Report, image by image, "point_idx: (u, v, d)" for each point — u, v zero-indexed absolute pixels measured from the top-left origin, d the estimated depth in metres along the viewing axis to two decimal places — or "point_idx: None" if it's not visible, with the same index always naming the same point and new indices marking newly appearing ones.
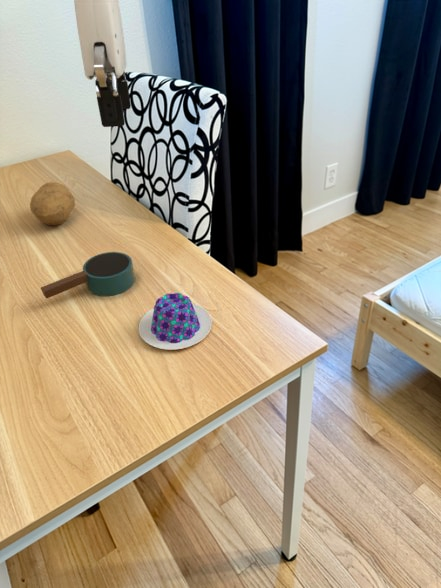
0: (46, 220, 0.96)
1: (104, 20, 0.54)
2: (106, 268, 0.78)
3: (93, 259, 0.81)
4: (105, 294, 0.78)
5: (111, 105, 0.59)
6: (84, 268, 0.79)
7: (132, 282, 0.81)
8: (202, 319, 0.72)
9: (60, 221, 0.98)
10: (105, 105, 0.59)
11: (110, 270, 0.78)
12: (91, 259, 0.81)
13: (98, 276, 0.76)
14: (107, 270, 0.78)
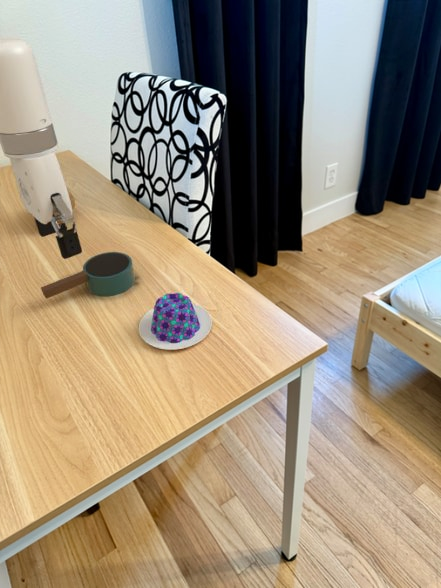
0: None
1: (56, 175, 0.61)
2: (106, 268, 0.78)
3: (93, 259, 0.81)
4: (105, 294, 0.78)
5: (72, 240, 0.66)
6: (84, 268, 0.79)
7: (132, 282, 0.81)
8: (202, 319, 0.72)
9: (60, 221, 0.98)
10: (67, 241, 0.66)
11: (110, 270, 0.78)
12: (91, 259, 0.81)
13: (98, 276, 0.76)
14: (107, 270, 0.78)
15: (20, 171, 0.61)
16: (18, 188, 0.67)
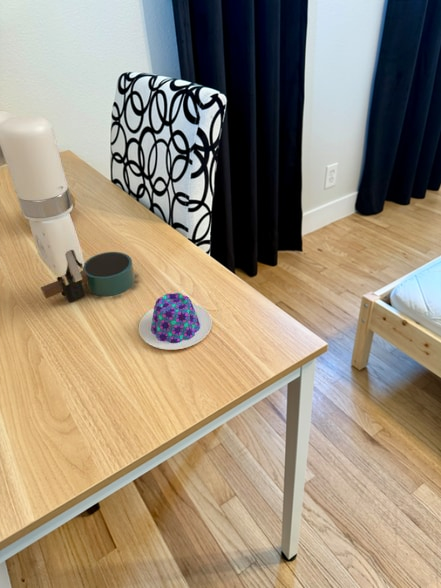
0: None
1: (71, 234, 0.67)
2: (106, 268, 0.78)
3: (93, 259, 0.81)
4: (105, 294, 0.78)
5: (76, 287, 0.75)
6: (84, 268, 0.79)
7: (132, 282, 0.81)
8: (202, 319, 0.72)
9: None
10: (72, 288, 0.75)
11: (110, 270, 0.78)
12: (91, 259, 0.81)
13: (98, 276, 0.76)
14: (107, 270, 0.78)
15: (38, 230, 0.67)
16: (34, 241, 0.73)
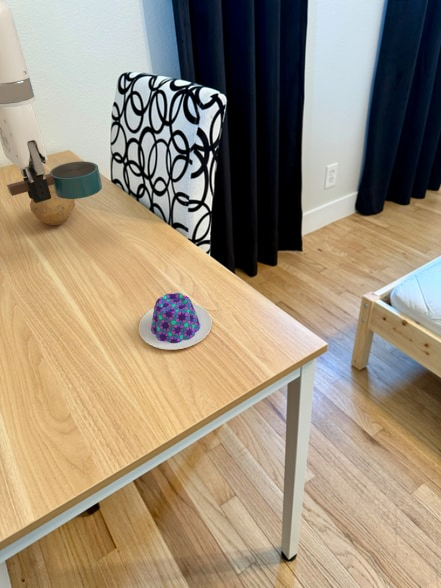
0: (46, 220, 0.96)
1: (32, 124, 0.69)
2: (72, 172, 0.81)
3: (60, 166, 0.83)
4: (71, 197, 0.80)
5: (41, 186, 0.77)
6: (51, 172, 0.81)
7: (98, 188, 0.83)
8: (202, 319, 0.72)
9: (60, 221, 0.98)
10: (37, 187, 0.77)
11: (76, 173, 0.80)
12: (59, 166, 0.83)
13: (63, 177, 0.79)
14: (73, 173, 0.80)
15: (0, 120, 0.69)
16: (0, 139, 0.75)
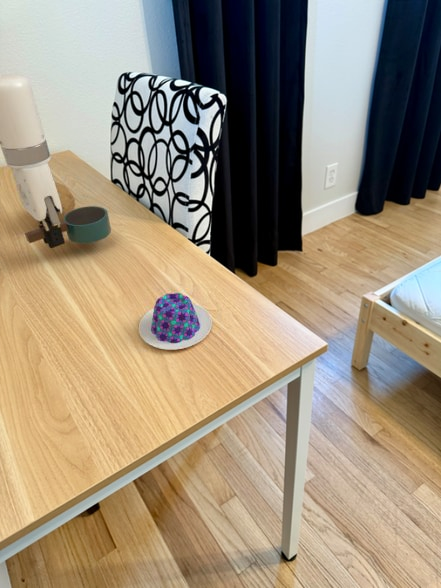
0: None
1: (49, 181, 0.76)
2: (84, 218, 0.87)
3: (72, 212, 0.90)
4: (83, 241, 0.87)
5: (56, 233, 0.84)
6: (64, 218, 0.88)
7: (108, 232, 0.90)
8: (202, 319, 0.72)
9: None
10: (52, 234, 0.84)
11: (87, 220, 0.87)
12: (71, 212, 0.90)
13: (76, 224, 0.85)
14: (84, 220, 0.87)
15: (20, 178, 0.76)
16: (18, 191, 0.82)
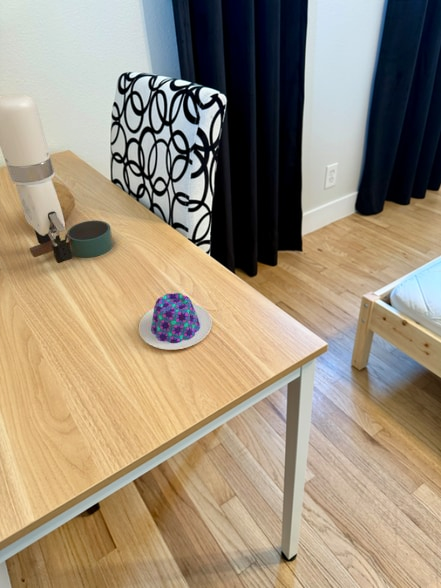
0: None
1: (53, 198, 0.78)
2: (87, 233, 0.89)
3: (76, 226, 0.92)
4: (86, 255, 0.89)
5: (64, 248, 0.83)
6: (68, 233, 0.90)
7: (110, 246, 0.92)
8: (202, 319, 0.72)
9: None
10: (60, 249, 0.82)
11: (91, 234, 0.89)
12: (74, 226, 0.92)
13: (80, 239, 0.87)
14: (88, 234, 0.89)
15: (24, 194, 0.78)
16: (22, 205, 0.84)
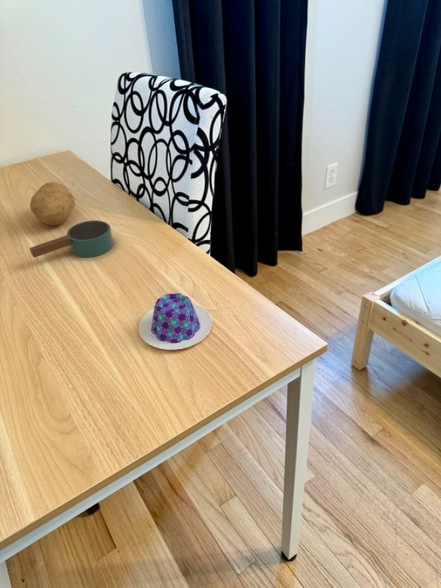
0: (46, 220, 0.96)
1: None
2: (87, 233, 0.89)
3: (76, 226, 0.92)
4: (86, 255, 0.89)
5: None
6: (68, 233, 0.90)
7: (110, 246, 0.92)
8: (202, 319, 0.72)
9: (60, 221, 0.98)
10: None
11: (91, 234, 0.89)
12: (74, 226, 0.92)
13: (80, 239, 0.87)
14: (88, 234, 0.89)
15: None
16: None
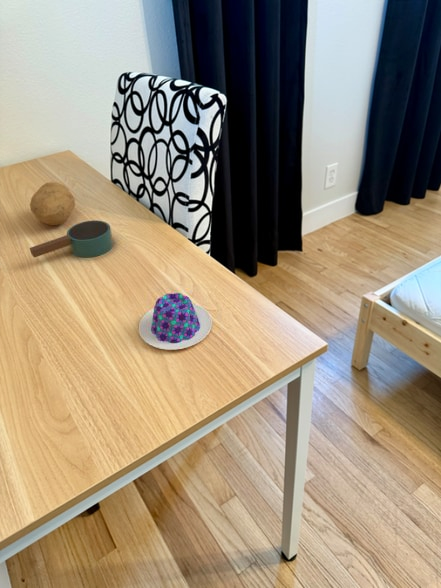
0: (46, 220, 0.96)
1: None
2: (87, 233, 0.89)
3: (76, 226, 0.92)
4: (86, 255, 0.89)
5: None
6: (68, 233, 0.90)
7: (110, 246, 0.92)
8: (202, 319, 0.72)
9: (60, 221, 0.98)
10: None
11: (91, 234, 0.89)
12: (74, 226, 0.92)
13: (80, 239, 0.87)
14: (88, 234, 0.89)
15: None
16: None
